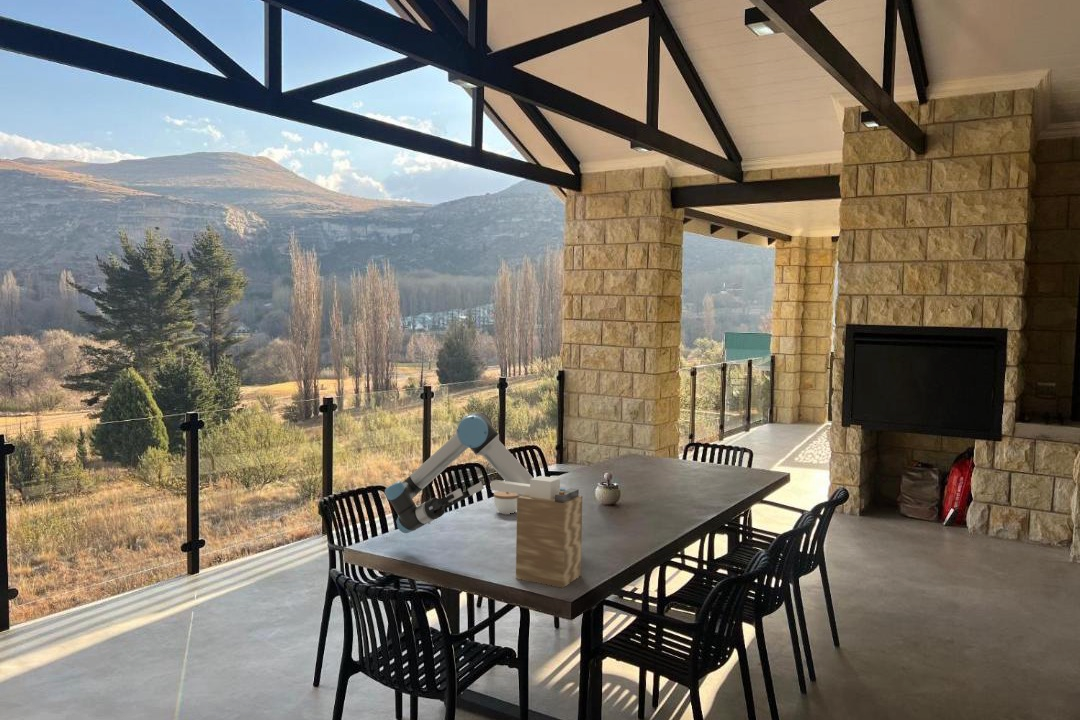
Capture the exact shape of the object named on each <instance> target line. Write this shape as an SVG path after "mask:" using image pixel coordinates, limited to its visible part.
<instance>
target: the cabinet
mask: <svg viewBox="0 0 1080 720" xmlns="http://www.w3.org/2000/svg"><path fill="white" fill-rule="evenodd" d="M565 490H566V491H561V492H559V493H558V494H556V495H555V498H553V499H544V498H537V497H530V495H522V496H520V497H517V510H516V543H515V544H516V547H515V548H516V551H515V553H516V556H515V557H516V558H515V579H516V578H517V579H518V580H521V579H522V581H527V582H531V581H532V583H536V582H537V584H541V583H542V585H546V584H547V586H551V585H552V586H553V587H556V586H558V587H557V588H561V587H562V589H563V588H565V587H566V586H568V585H569V584H571V583H572V582H574V581H576V580H577V579H578V578H580V577H582V536H583V535H582V533H583V530H582V529H583V528H582V527H583V525H582V524H583V496H582V495H579V488H572V487H571V488H568V489H565ZM579 576H580V577H579ZM576 578H577V579H576ZM570 582H571V583H570Z"/></svg>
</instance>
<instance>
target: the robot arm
mask: <svg viewBox="0 0 1080 720" xmlns="http://www.w3.org/2000/svg"><path fill="white" fill-rule="evenodd" d="M468 449H470V450H471V451H472V452H473V453H474V455H475V456H481V457H483V459H484V460H486V461H487V462H488V464H489V465H490V466H491V467H492V468H493V469H494V470H495V471H496V473H498V475H499V476H500V477H501V478H502V479H503V481H509V482H516V483H524V484H530V479H532V478H534V477H533V476H532V475H531V473H529V471H528V470H527V469H526V468H525V467H524V466H523V465H522V463H520V461H519V460H518V459H517V458H516V457H515V456H514V455H513V454H512V453H511V451H510V450H508V449H507V447H506V446H505V445H504V444H503V443H502V442H501V441H500V434H499V433H498V432H497V430H496V429H495V428H494V427H493V423H492V419H491V418H490V417H489V416H488V415H487V414H486V413H484V412H481V411H475V412H471V413H469V414H468V415H466V416H464V417H463V418H462V419H461V420H460V421H459V424H458V426H457V428H456V429H455V434H454V435H453V436H451V438H449V439H448V440H447V441H446V442H445V443H444V444H443V445H441V447H439V448H438V449H437V450H436V451H435V452H434V453H432V455H431V456H429V457H428V459H426V461H424V462H423V463H422V464H421V465H419V466H418V468H417V469H416V470H414V471H412V473H411V474H410V475H409V476H408V477H407V478H405V479H404V480H403V481H401V480H398V481H396V482H394V483H392V484H390V485H389V486H387V487H386V488H385V489H384V493H385V496H386V498H387V500H388V501H389V503H390V504H391V506H392V508H393V509H394V511H395V512H396V514H397V518H396V521H395V522H396V527H397V529H398V531H400V532H401V533H403V534H409V533H411V532H414V531H416V530H417V529H420V528H421V527H423V526H425V525H427V524H428V525H431V522H432V521H434V520H436V519H439V518H441V517H442V516H443V515H444V514H445V510H446V509H448V508H450V507H451V506H454V505H455V504H456V503H458V502H460V501H463V500H465V499H468V498H469V497H472V496H474V495H475V494H477V493H479V492H481V491H482V490H484V489H485V488H484V485H483V483H482V481H480V482H478V483H476V484H474V485H472V486H470V487H467V489H466V490H464V491H462V489H461V488H458V489H455V490H454V491H452V492H450V493H448V494H446V495H445V496H442V497H439V498H437V497H432V498H431V499H429V500H426V501H424V502H422V503H421V504H418V505H417V506H416V504H415V502H414V500H413V499H414V498H415V497H416V496H418V494H420V493H421V491H422V490H424V489H425V488H426V487H427V486H428V485H429V484H430V483H431V482H432V481H433V480H434V479H436V478H437V477H438V476H439V475H441V473H442V472H443V471H445V470H446V469H447V468H448V467H449V466H450V465H452V463H453V462H455V461H456V460H457V459H458V458H459V457H461V456H462V454H463V453H465V452H466V451H467V450H468ZM566 490H567V489H565V488H563V487H560V492H561V491H566ZM518 495H519V496H522V495H524V494H518Z"/></svg>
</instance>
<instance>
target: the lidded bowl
mask: <svg viewBox="0 0 1080 720" xmlns="http://www.w3.org/2000/svg"><path fill="white" fill-rule="evenodd" d="M517 497H520V496H519V495H518V494H517V493H510V492H503V491H495V492H494V493H493V504H494V507H495V509H496V510H497V511H498V512H500V513H502V514H501V515H511V514H510V513H514V512H515V513H516V512H517ZM500 513H499V514H500ZM515 513H514V514H515Z"/></svg>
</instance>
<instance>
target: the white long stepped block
mask: <svg viewBox="0 0 1080 720" xmlns="http://www.w3.org/2000/svg"><path fill="white" fill-rule="evenodd" d="M560 488H561V478H559V477H551V476H542V475H539V476H535V477H533V478H532V479H530V484H524V483H516V482H509V481H505V480H499V479H494V480H492V481H490V490H491V491H495V492H497V491H503V492H510V493H517V494H524V495H530V497H537V498H544V499H553V498H555V495H556V494H558V493H559V492H560Z"/></svg>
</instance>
